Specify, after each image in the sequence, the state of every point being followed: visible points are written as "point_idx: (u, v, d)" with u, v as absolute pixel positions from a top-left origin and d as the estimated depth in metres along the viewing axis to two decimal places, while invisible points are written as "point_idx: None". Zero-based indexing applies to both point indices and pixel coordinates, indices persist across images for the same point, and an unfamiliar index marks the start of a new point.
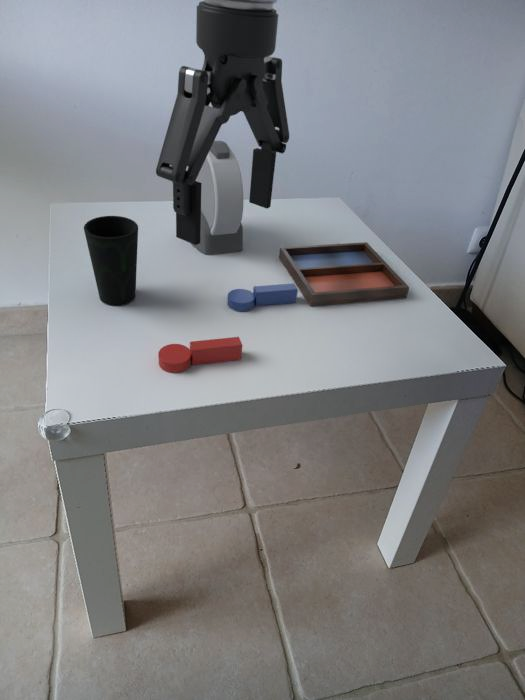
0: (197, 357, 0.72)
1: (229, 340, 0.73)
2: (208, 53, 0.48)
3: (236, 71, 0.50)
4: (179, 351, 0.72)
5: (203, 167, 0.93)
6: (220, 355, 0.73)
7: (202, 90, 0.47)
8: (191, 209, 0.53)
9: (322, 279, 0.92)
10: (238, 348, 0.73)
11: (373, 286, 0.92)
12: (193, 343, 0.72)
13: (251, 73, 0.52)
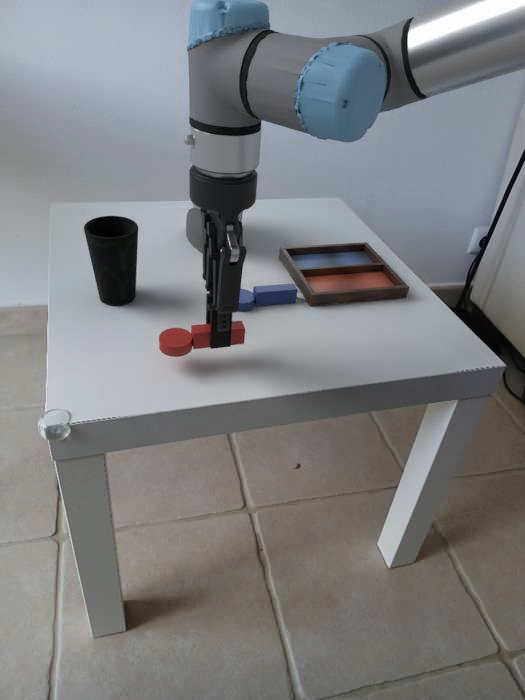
0: (199, 341, 0.70)
1: None
2: (227, 214, 0.57)
3: None
4: (180, 335, 0.70)
5: None
6: None
7: None
8: None
9: (322, 279, 0.92)
10: (241, 331, 0.71)
11: (373, 286, 0.92)
12: (194, 327, 0.70)
13: None
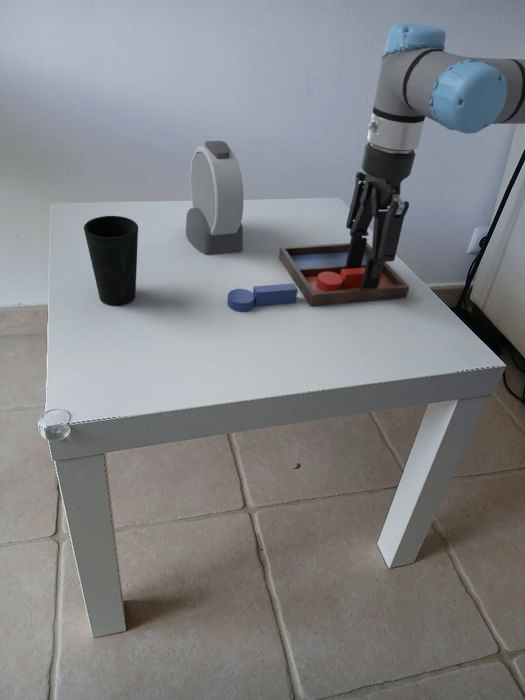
0: (348, 281, 0.90)
1: None
2: (394, 181, 0.78)
3: None
4: (333, 276, 0.90)
5: (203, 167, 0.93)
6: None
7: None
8: None
9: None
10: None
11: None
12: (344, 270, 0.90)
13: None
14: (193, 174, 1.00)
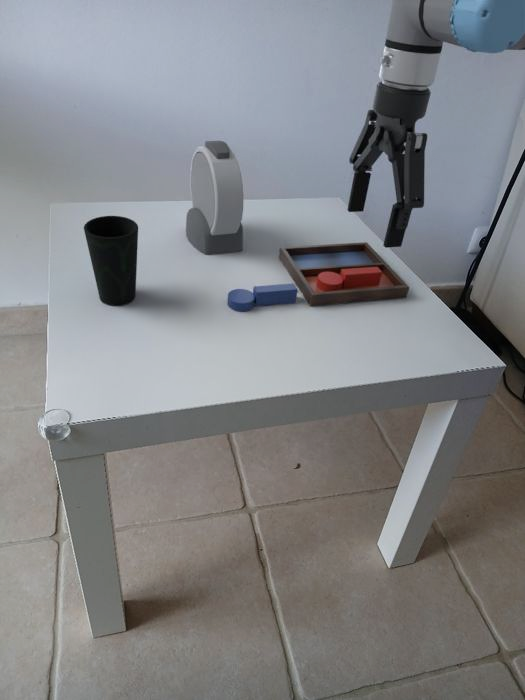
0: (348, 281, 0.90)
1: (371, 269, 0.92)
2: (408, 120, 0.72)
3: None
4: (333, 276, 0.90)
5: (203, 167, 0.93)
6: (365, 280, 0.91)
7: None
8: None
9: None
10: (379, 274, 0.91)
11: (373, 286, 0.92)
12: (344, 270, 0.90)
13: None
14: (193, 174, 1.00)
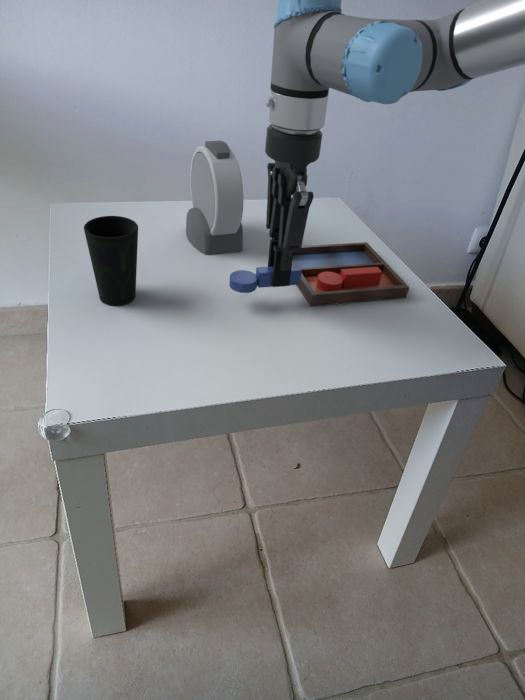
0: (348, 281, 0.90)
1: (371, 269, 0.92)
2: (298, 165, 0.70)
3: None
4: (333, 276, 0.90)
5: (203, 167, 0.93)
6: (365, 280, 0.91)
7: None
8: None
9: None
10: (379, 274, 0.91)
11: (373, 286, 0.92)
12: (344, 270, 0.90)
13: None
14: (193, 174, 1.00)
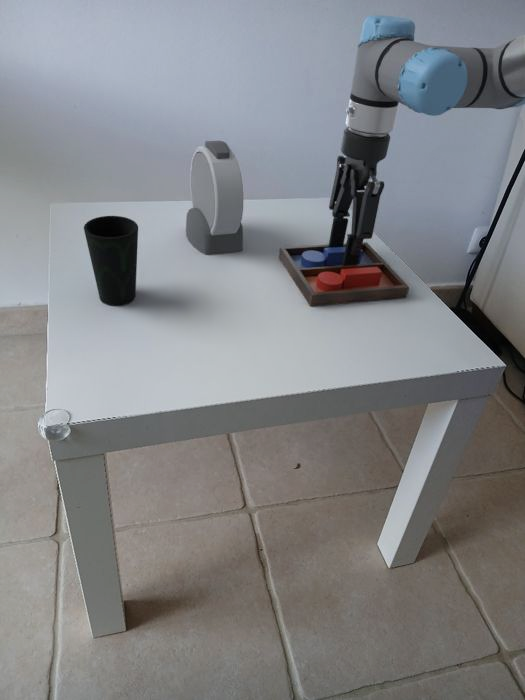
0: (348, 281, 0.90)
1: (371, 269, 0.92)
2: (370, 162, 0.83)
3: None
4: (333, 276, 0.90)
5: (203, 167, 0.93)
6: (365, 280, 0.91)
7: None
8: None
9: None
10: (379, 274, 0.91)
11: (373, 286, 0.92)
12: (344, 270, 0.90)
13: None
14: (193, 174, 1.00)
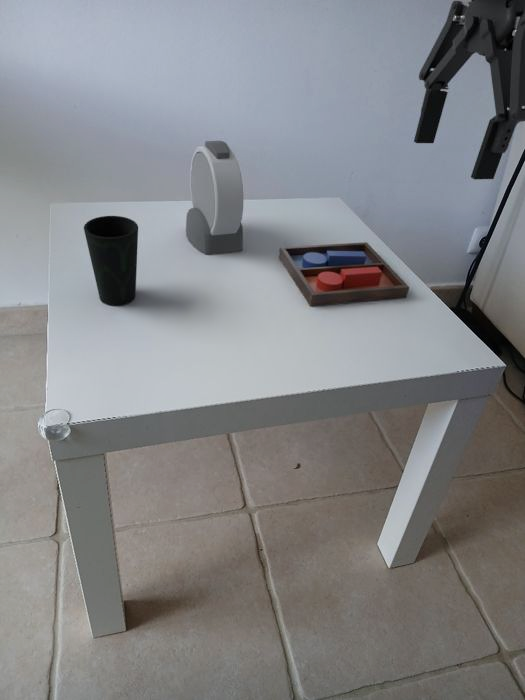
0: (348, 281, 0.90)
1: (371, 269, 0.92)
2: (519, 1, 0.54)
3: None
4: (333, 276, 0.90)
5: (203, 167, 0.93)
6: (365, 280, 0.91)
7: None
8: None
9: None
10: (379, 274, 0.91)
11: (373, 286, 0.92)
12: (344, 270, 0.90)
13: None
14: (193, 174, 1.00)
